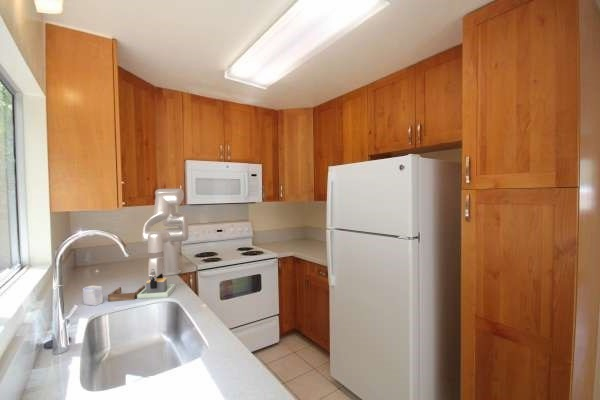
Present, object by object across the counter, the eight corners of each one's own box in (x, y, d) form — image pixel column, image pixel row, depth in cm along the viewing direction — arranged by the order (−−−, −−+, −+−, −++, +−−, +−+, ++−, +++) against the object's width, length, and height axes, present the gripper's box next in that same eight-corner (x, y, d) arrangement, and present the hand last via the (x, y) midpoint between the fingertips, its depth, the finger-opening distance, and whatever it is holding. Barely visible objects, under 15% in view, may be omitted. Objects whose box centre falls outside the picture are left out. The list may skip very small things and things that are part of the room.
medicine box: (103, 302, 141) (102, 286, 140) (94, 306, 136) (94, 289, 136) (91, 301, 143) (91, 285, 142) (83, 304, 138) (82, 288, 138)
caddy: (150, 291, 154) (149, 278, 154) (167, 289, 155) (166, 277, 155) (146, 294, 149) (146, 281, 149) (164, 293, 150) (163, 280, 150)
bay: (119, 293, 154) (119, 287, 154) (145, 291, 156) (144, 285, 156) (108, 301, 142) (108, 295, 142) (135, 299, 144) (135, 293, 144)
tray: (147, 290, 158) (147, 285, 158) (175, 288, 160) (175, 284, 160) (137, 299, 144) (137, 294, 144) (167, 297, 146) (167, 292, 146)
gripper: (154, 252, 159) (155, 281, 160) (142, 259, 142) (143, 291, 143) (167, 251, 160) (169, 280, 161) (157, 258, 143) (158, 290, 144)
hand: (157, 285), depth 152 cm, fingers open, 9 cm apart
